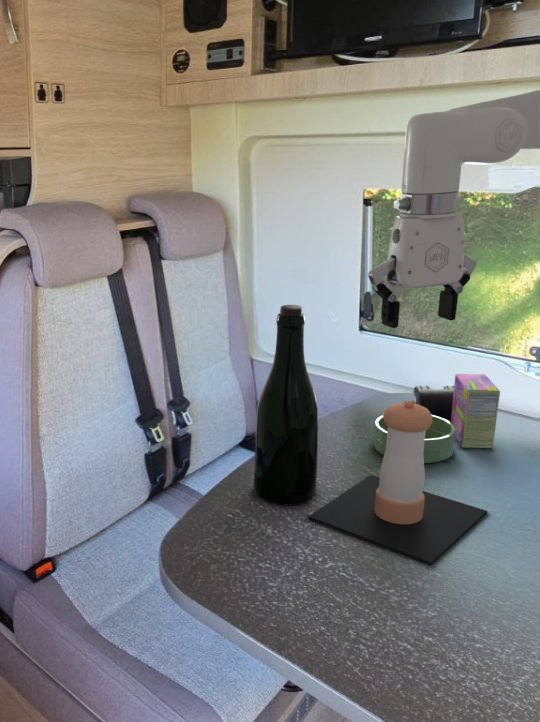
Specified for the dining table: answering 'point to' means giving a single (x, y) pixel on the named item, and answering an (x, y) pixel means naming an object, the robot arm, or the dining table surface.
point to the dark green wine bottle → (287, 420)
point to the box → (474, 410)
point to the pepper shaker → (403, 464)
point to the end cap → (435, 400)
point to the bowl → (436, 439)
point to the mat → (413, 540)
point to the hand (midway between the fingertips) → (418, 322)
